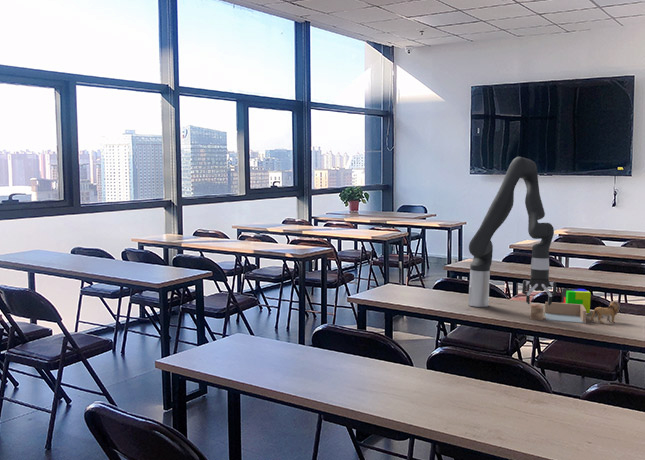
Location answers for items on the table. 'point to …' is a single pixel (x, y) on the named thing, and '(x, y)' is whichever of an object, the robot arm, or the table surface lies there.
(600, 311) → the lion figurine
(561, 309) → the arena
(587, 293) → the puzzle toy
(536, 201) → the robot arm
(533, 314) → the block
